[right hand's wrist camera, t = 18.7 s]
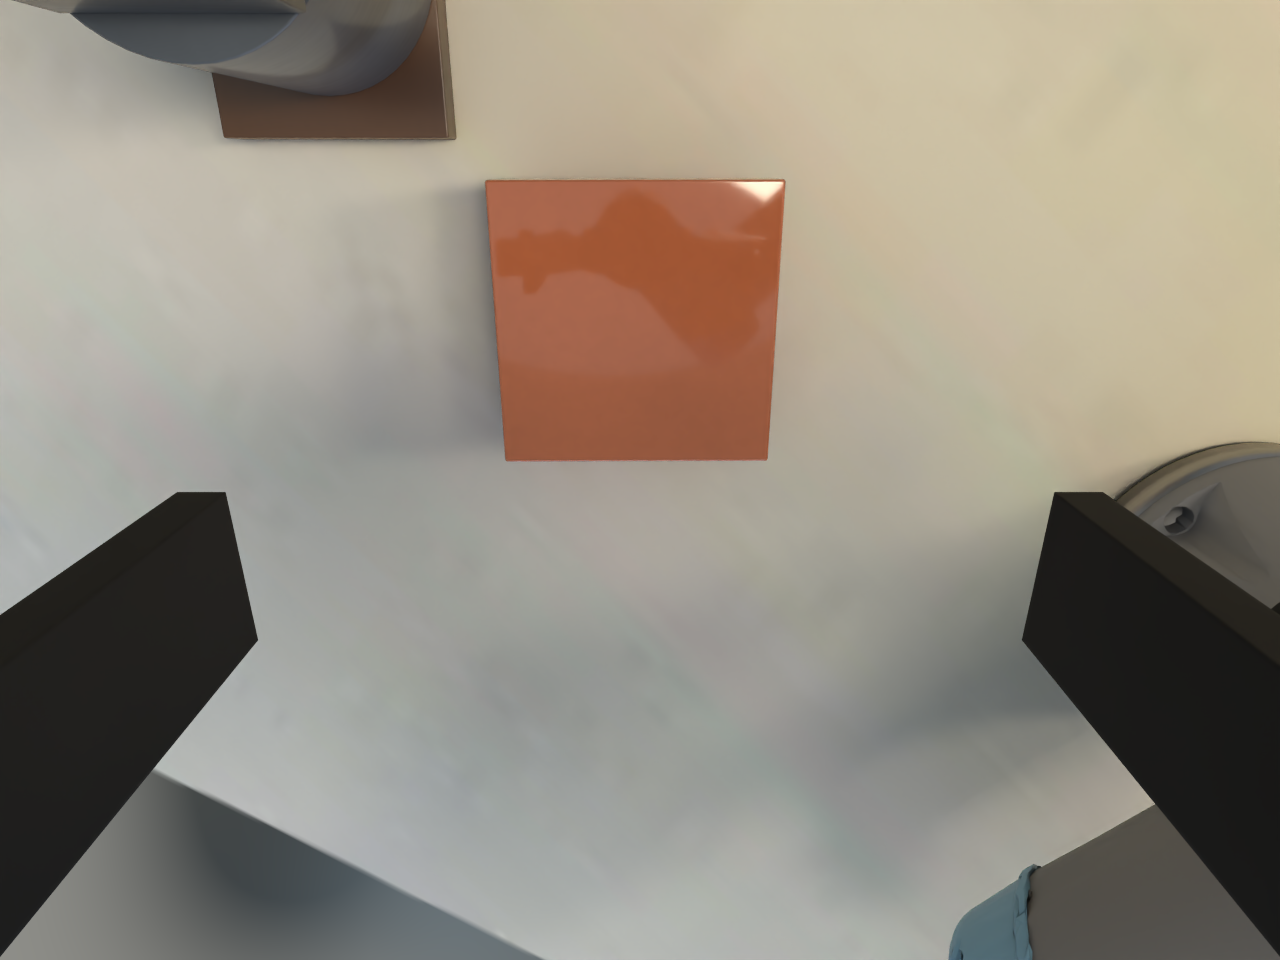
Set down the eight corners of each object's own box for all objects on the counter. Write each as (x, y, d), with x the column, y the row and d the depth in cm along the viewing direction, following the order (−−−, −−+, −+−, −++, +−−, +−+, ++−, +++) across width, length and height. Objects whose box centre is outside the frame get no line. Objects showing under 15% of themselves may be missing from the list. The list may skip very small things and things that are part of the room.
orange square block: (506, 178, 33) (484, 179, 28) (764, 177, 33) (786, 179, 28) (522, 424, 37) (504, 462, 32) (750, 423, 37) (767, 461, 32)
